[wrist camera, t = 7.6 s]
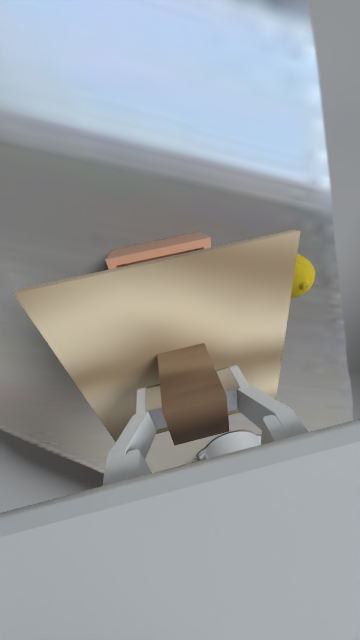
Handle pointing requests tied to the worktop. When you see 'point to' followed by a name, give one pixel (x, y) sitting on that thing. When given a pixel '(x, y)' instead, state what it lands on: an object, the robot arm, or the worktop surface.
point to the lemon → (302, 276)
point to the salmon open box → (157, 250)
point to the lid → (172, 330)
